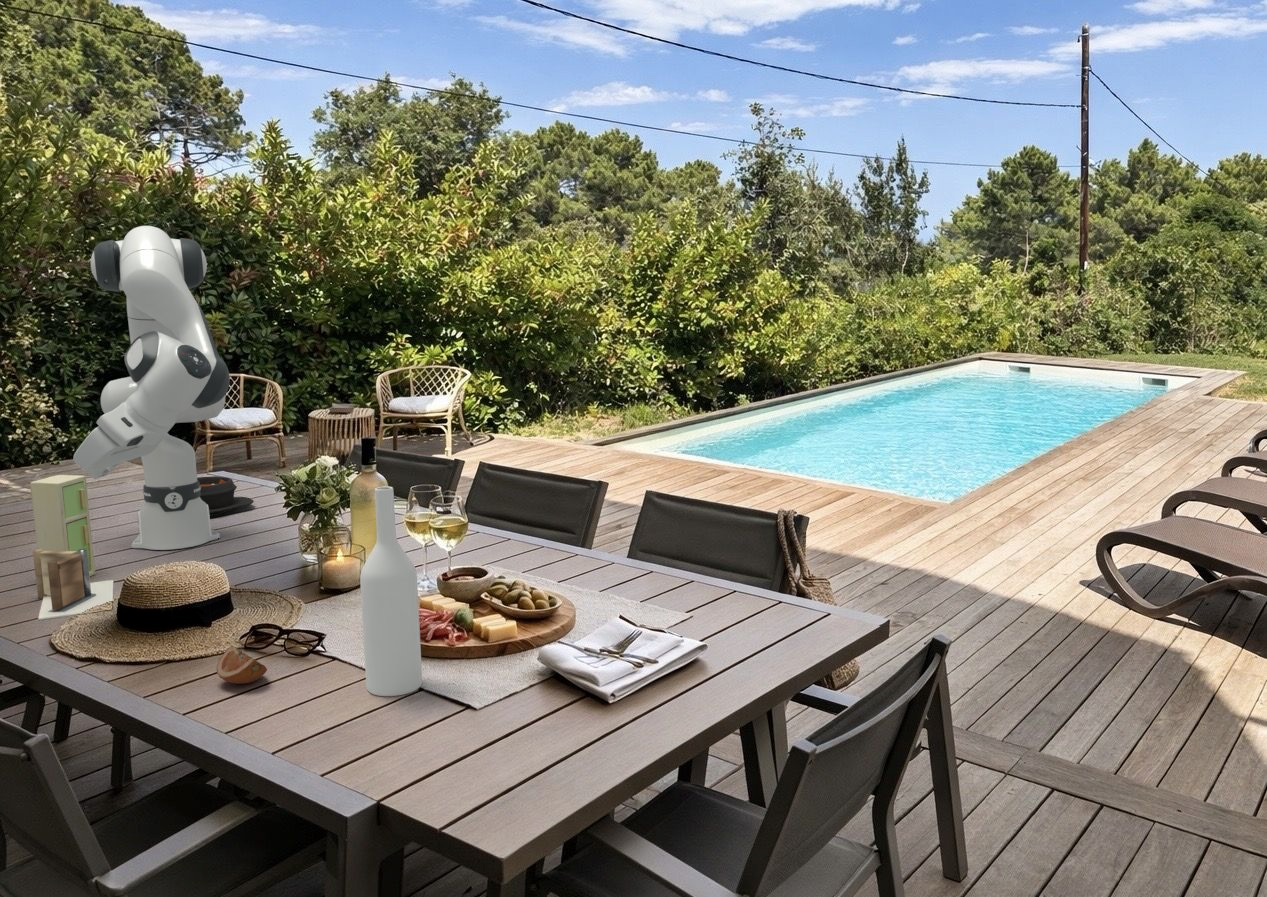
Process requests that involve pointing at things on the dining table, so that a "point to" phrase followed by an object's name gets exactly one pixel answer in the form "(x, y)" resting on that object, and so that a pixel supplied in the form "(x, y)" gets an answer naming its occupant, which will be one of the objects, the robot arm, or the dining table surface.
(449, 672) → the dining table surface
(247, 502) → the casserole
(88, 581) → the fence fixed section
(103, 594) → the board
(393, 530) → the bottle
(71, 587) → the fence panel
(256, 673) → the fruit slice
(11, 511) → the dining table surface
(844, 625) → the dining table surface
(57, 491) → the toy refrigerator
